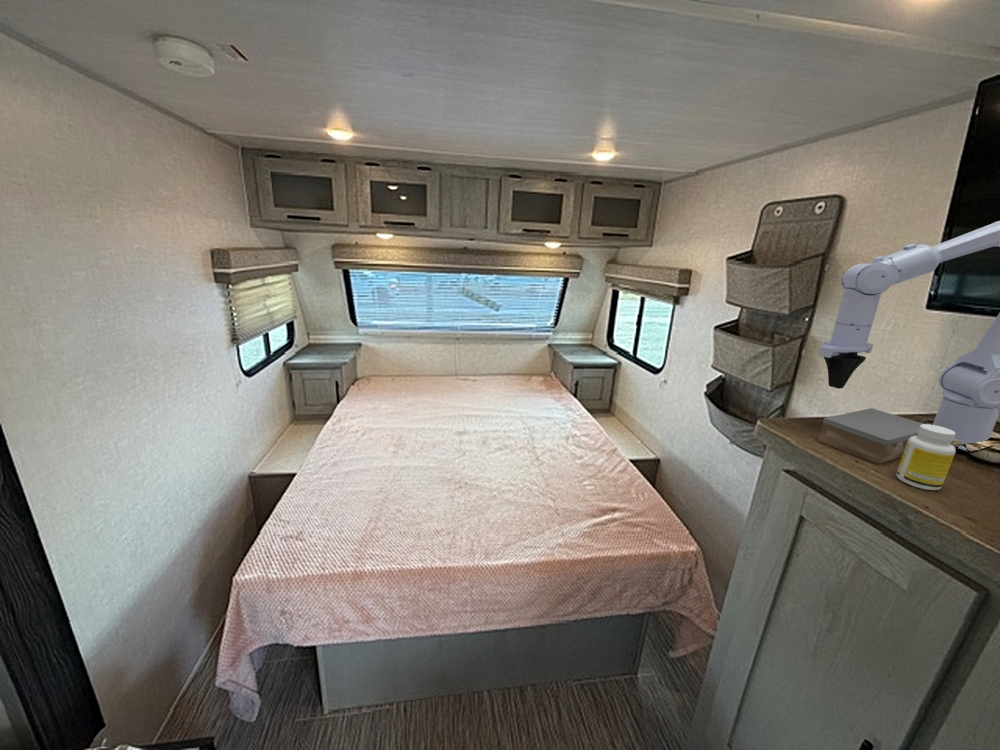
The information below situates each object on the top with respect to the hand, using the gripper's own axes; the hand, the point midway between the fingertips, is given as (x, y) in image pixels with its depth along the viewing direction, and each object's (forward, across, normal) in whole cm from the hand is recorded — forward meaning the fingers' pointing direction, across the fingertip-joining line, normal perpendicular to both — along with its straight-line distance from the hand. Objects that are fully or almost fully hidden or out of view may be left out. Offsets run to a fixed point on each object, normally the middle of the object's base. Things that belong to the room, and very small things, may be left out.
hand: (835, 387), depth 85 cm
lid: (+5, +1, +9) cm, 11 cm away
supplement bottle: (+10, +10, +20) cm, 24 cm away
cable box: (+9, +1, +9) cm, 13 cm away
